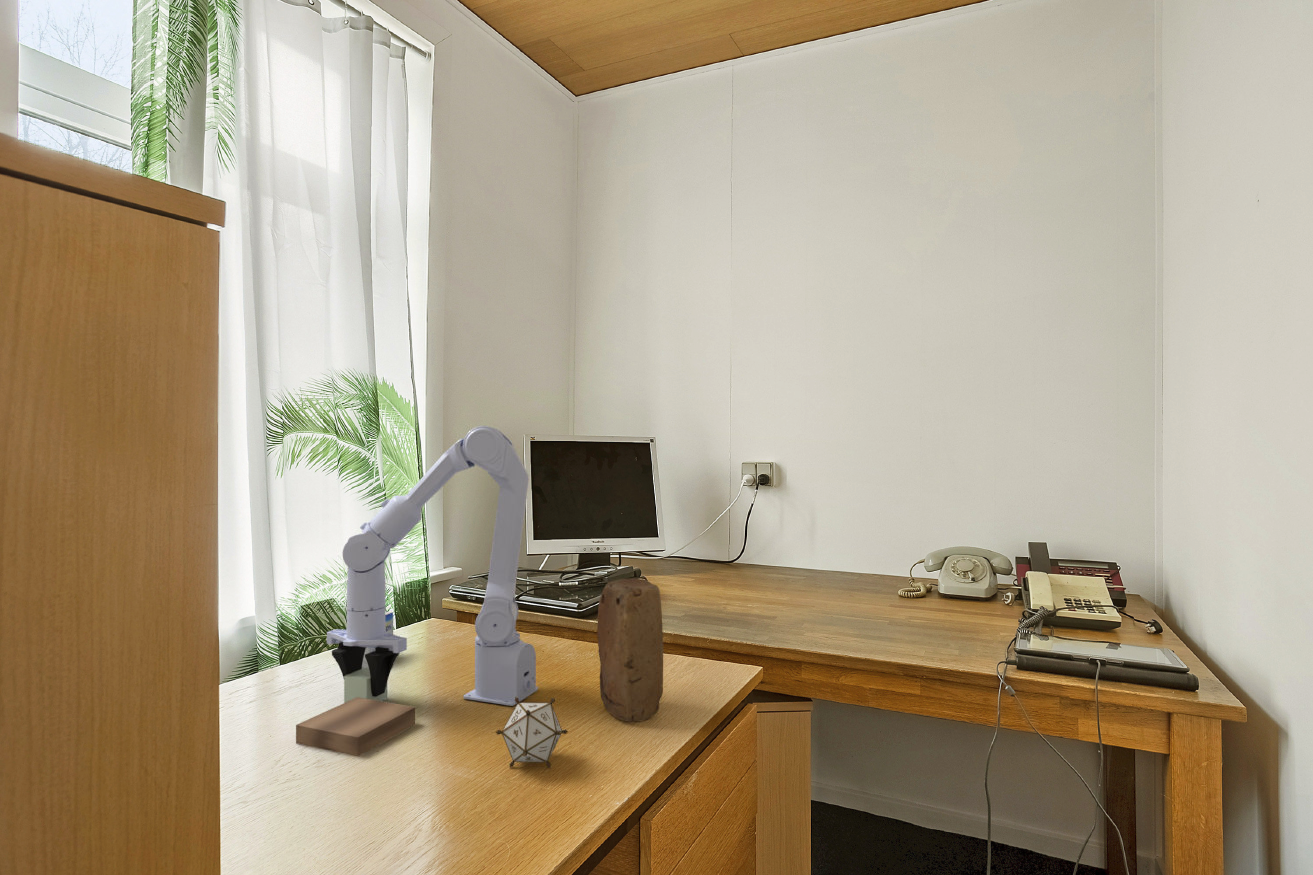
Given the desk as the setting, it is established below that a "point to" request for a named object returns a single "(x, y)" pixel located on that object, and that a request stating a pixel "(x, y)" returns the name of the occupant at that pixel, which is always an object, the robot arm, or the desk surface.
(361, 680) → the sage block
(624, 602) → the block
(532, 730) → the game die
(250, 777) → the desk surface
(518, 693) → the robot arm
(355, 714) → the walnut block
